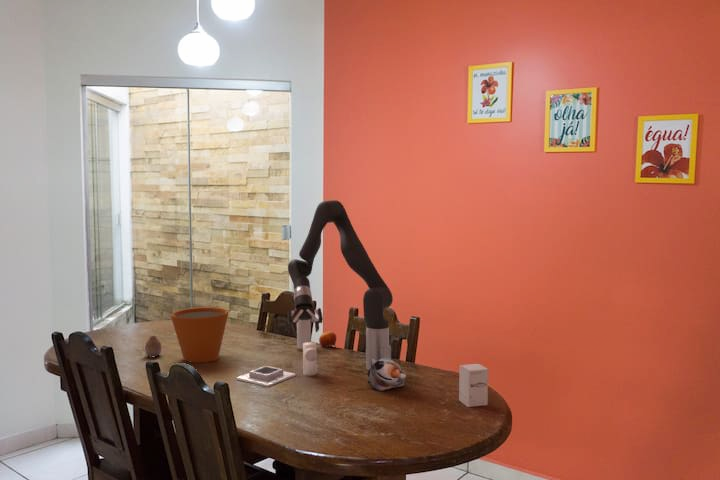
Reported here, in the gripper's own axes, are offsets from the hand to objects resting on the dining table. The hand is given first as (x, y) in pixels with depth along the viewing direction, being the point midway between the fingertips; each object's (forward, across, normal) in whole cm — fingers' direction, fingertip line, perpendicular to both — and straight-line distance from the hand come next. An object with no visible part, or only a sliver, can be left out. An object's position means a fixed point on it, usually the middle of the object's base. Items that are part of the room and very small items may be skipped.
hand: (306, 331), depth 248 cm
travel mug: (-9, +2, +30) cm, 31 cm away
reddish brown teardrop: (-10, -64, +31) cm, 72 cm away
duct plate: (+18, -17, +2) cm, 25 cm away
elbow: (+19, 0, +2) cm, 19 cm away
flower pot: (-5, -43, +26) cm, 50 cm away
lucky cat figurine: (+34, +26, -13) cm, 44 cm away
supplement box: (+49, +50, -28) cm, 76 cm away
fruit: (-11, +13, +32) cm, 36 cm away
